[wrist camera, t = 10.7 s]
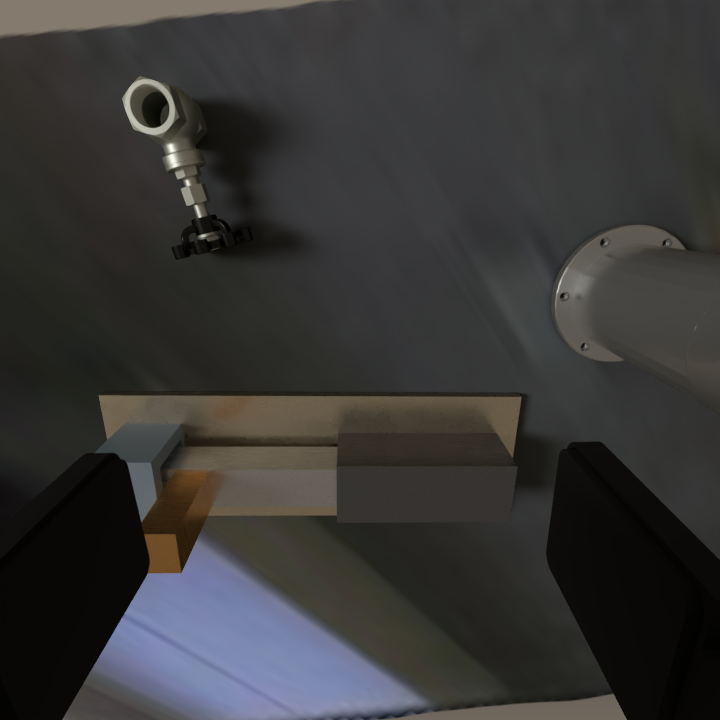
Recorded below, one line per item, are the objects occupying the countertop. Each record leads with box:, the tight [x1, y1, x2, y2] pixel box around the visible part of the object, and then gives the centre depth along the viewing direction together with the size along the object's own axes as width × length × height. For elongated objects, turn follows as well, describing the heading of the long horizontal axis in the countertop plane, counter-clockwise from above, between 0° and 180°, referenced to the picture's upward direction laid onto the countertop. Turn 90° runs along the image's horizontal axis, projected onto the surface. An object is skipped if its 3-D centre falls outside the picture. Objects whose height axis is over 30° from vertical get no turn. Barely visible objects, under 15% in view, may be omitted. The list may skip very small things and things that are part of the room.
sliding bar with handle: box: [142, 447, 338, 573], centre depth 39 cm, size 23×4×12 cm, turn 89°
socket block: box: [95, 423, 184, 523], centre depth 42 cm, size 6×8×7 cm
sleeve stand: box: [99, 391, 522, 523], centre depth 43 cm, size 41×14×7 cm, turn 89°
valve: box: [122, 76, 253, 260], centre depth 34 cm, size 7×7×12 cm
